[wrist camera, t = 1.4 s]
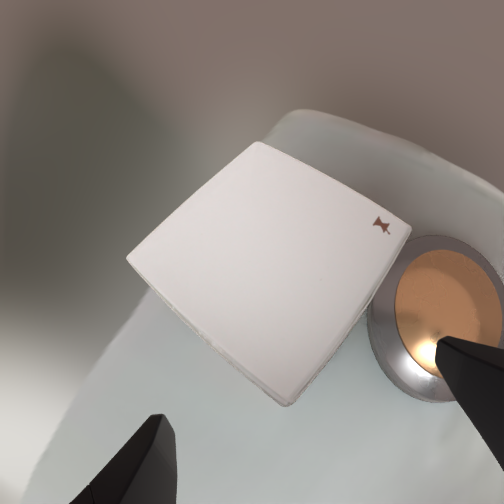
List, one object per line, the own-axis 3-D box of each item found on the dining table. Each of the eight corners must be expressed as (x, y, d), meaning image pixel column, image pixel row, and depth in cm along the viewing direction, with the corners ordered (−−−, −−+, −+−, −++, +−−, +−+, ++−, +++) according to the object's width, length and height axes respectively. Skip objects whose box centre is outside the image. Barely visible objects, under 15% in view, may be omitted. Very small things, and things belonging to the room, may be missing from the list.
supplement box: (269, 268, 23) (259, 133, 12) (349, 326, 20) (422, 225, 9) (201, 341, 21) (118, 253, 10) (282, 410, 18) (291, 414, 7)
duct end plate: (513, 297, 19) (526, 287, 17) (462, 430, 15) (477, 430, 13) (409, 220, 24) (417, 206, 22) (332, 343, 20) (338, 336, 18)
